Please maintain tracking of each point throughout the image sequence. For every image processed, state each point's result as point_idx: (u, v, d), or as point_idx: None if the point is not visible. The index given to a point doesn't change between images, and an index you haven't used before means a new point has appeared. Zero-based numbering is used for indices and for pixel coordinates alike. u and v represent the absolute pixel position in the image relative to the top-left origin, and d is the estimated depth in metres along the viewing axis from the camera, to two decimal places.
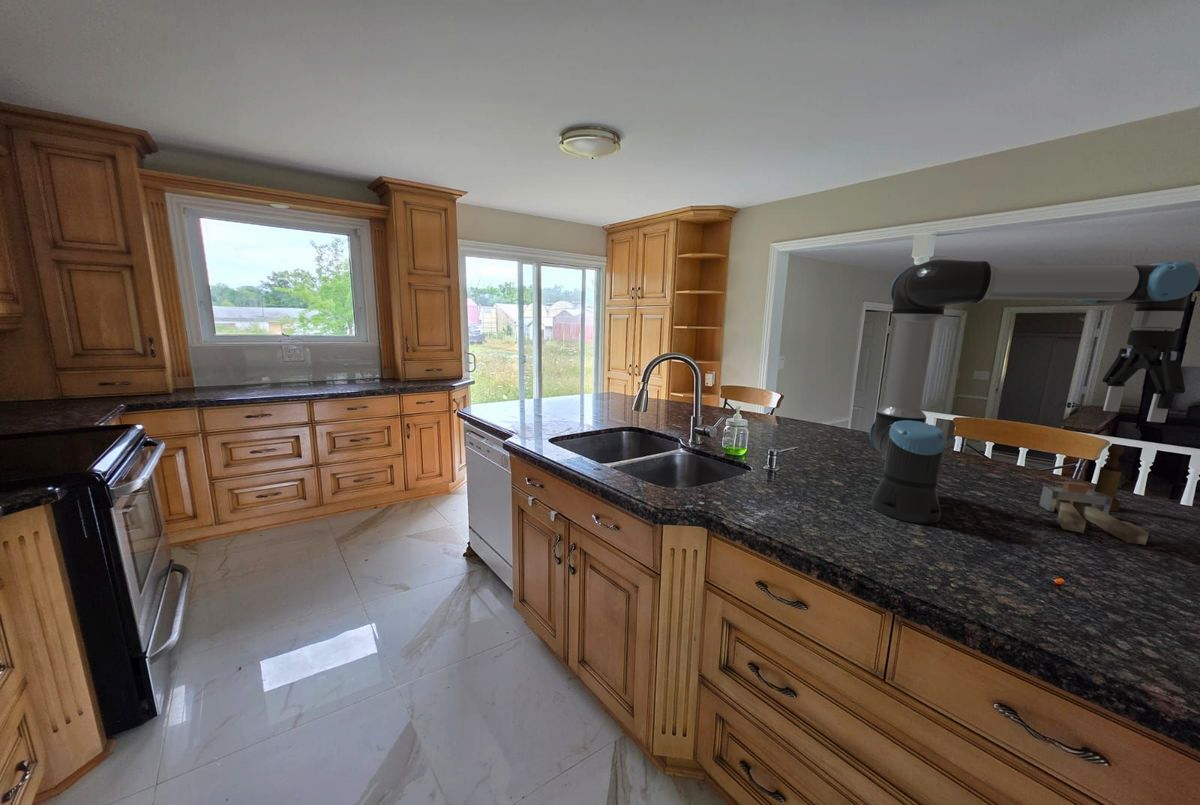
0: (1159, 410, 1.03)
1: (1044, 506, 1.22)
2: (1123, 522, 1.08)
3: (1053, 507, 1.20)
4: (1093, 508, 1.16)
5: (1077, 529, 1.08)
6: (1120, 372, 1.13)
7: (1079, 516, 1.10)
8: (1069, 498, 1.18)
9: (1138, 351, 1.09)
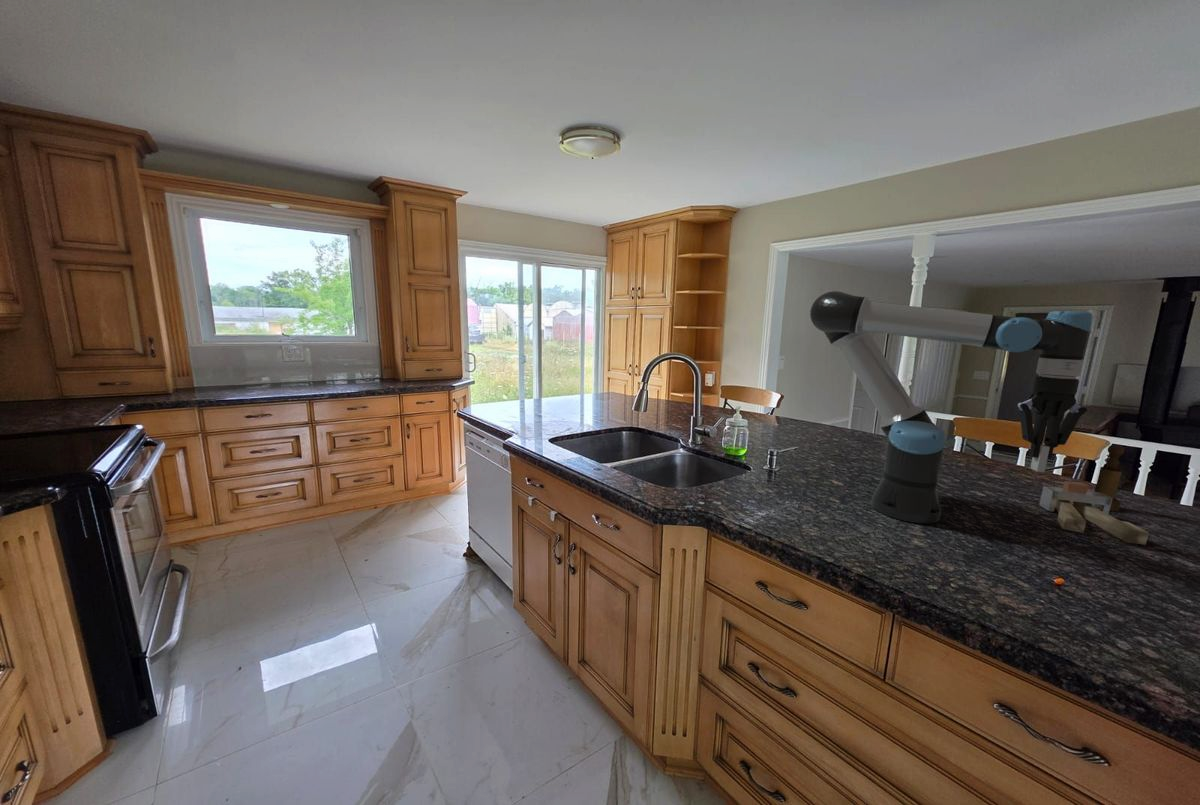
0: (1035, 459, 1.10)
1: (1044, 506, 1.22)
2: (1123, 522, 1.08)
3: (1053, 507, 1.20)
4: (1093, 508, 1.16)
5: (1077, 529, 1.08)
6: None
7: (1079, 516, 1.10)
8: (1069, 498, 1.18)
9: None
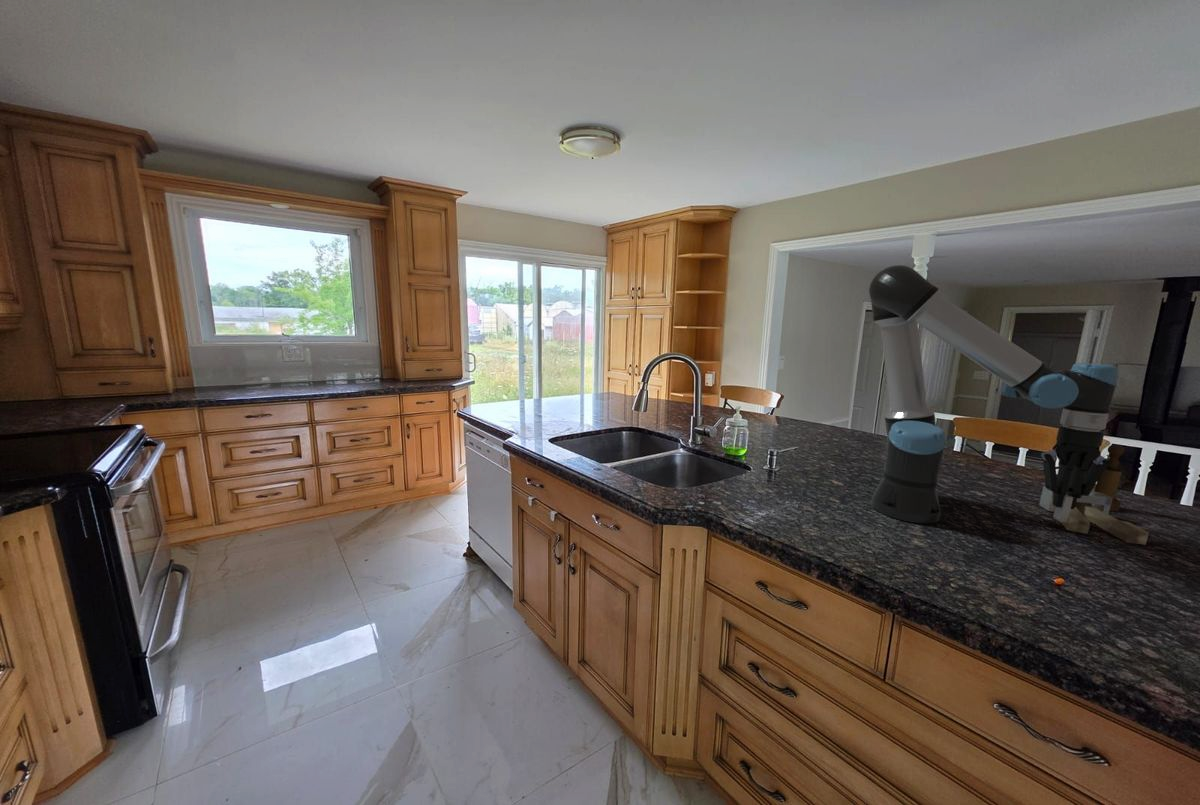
0: (1058, 508, 1.10)
1: (1044, 506, 1.22)
2: (1123, 522, 1.08)
3: (1053, 507, 1.20)
4: (1093, 508, 1.16)
5: (1081, 530, 1.07)
6: None
7: (1082, 517, 1.09)
8: None
9: None
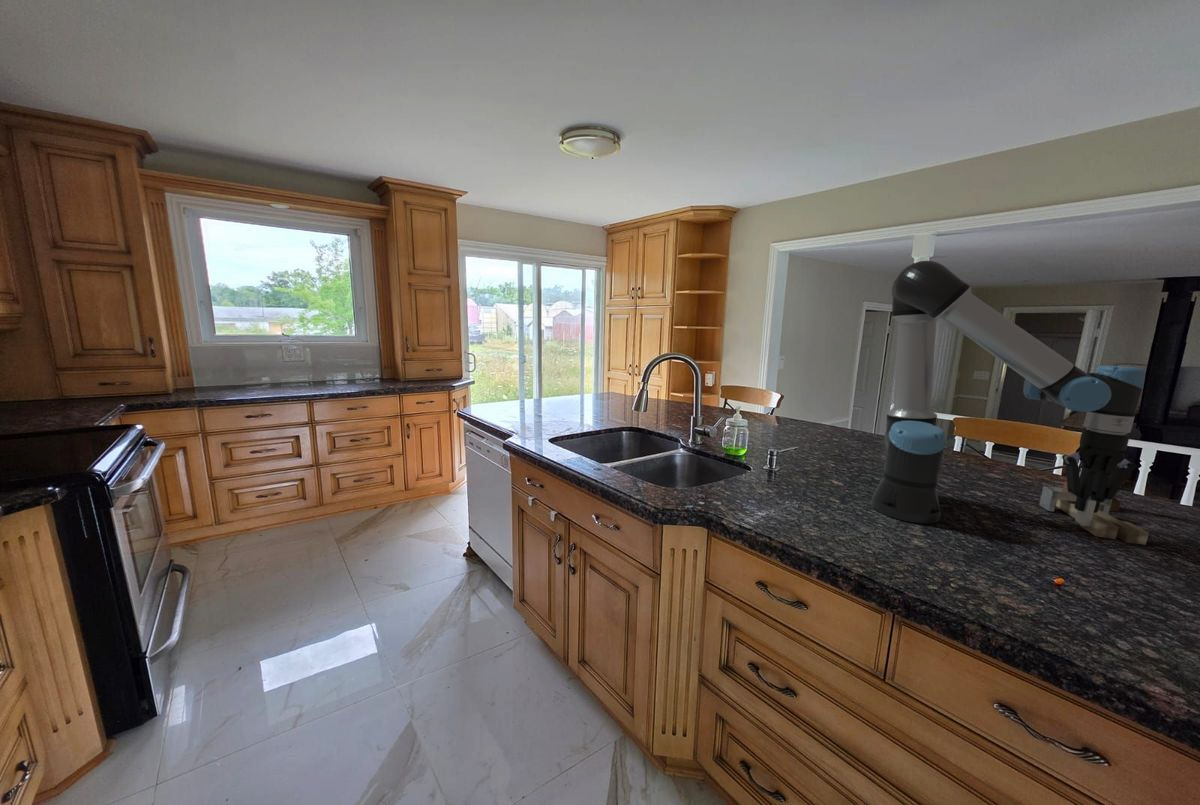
0: (1080, 512, 1.09)
1: (1044, 506, 1.22)
2: (1123, 522, 1.08)
3: (1053, 507, 1.20)
4: None
5: (1109, 535, 1.05)
6: None
7: (1106, 521, 1.07)
8: (1069, 498, 1.18)
9: None
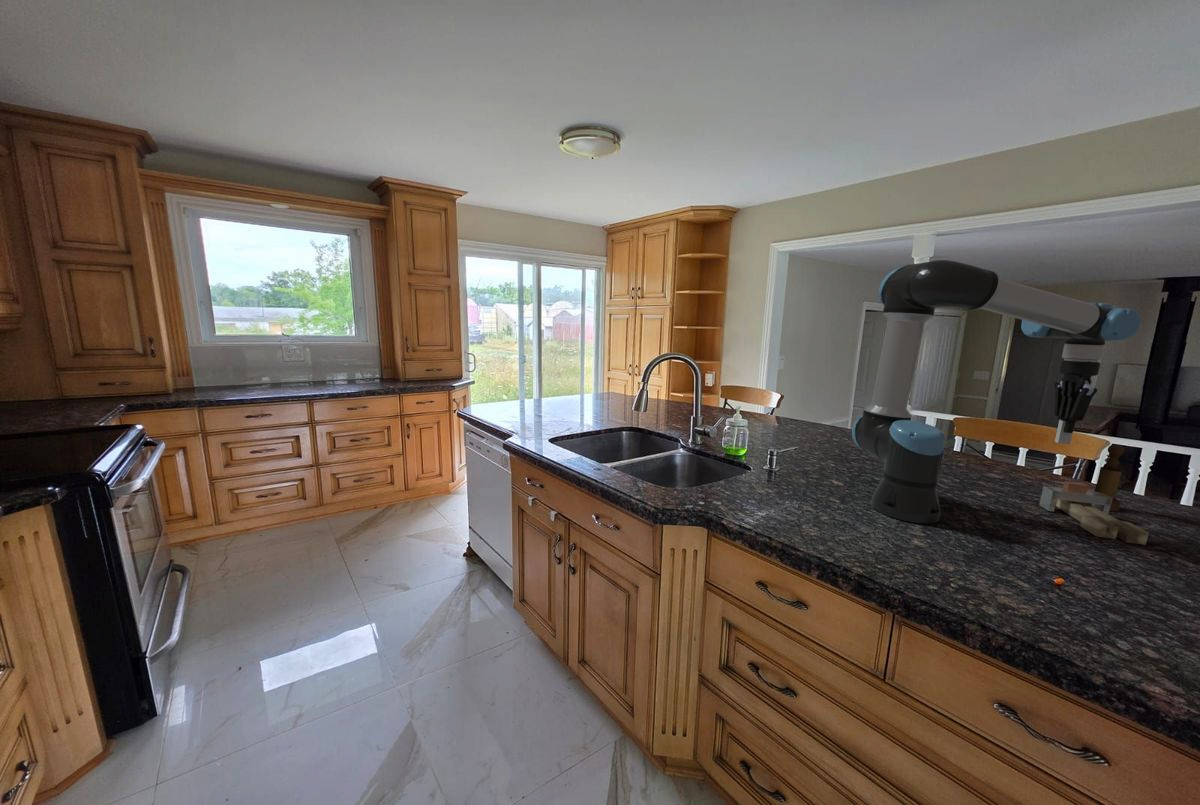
0: (1065, 434, 1.25)
1: (1044, 506, 1.22)
2: (1123, 522, 1.08)
3: (1053, 507, 1.20)
4: (1093, 508, 1.16)
5: (1109, 535, 1.05)
6: (1063, 402, 1.26)
7: (1106, 521, 1.07)
8: (1069, 498, 1.18)
9: (1067, 374, 1.25)
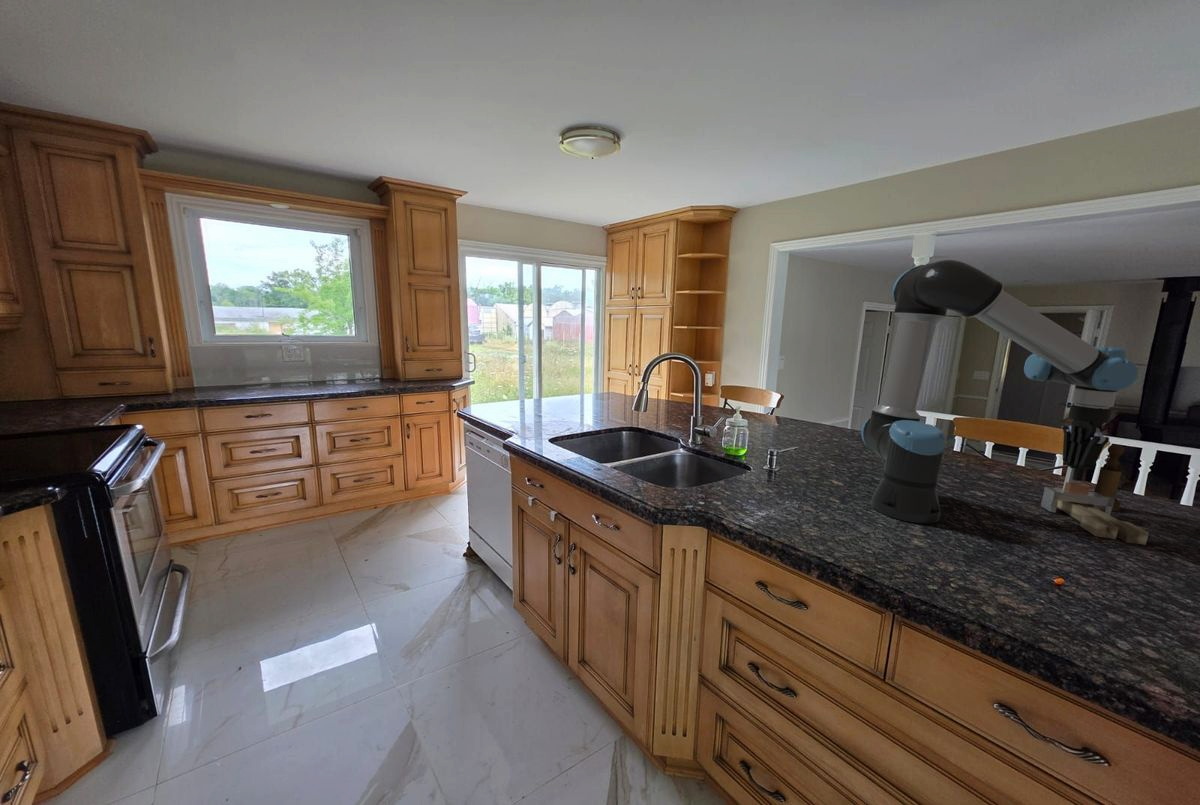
0: (1074, 481, 1.20)
1: (1046, 507, 1.21)
2: (1123, 522, 1.08)
3: (1055, 508, 1.19)
4: (1093, 508, 1.16)
5: (1109, 535, 1.05)
6: (1072, 448, 1.20)
7: (1106, 521, 1.07)
8: (1071, 499, 1.18)
9: (1077, 419, 1.20)
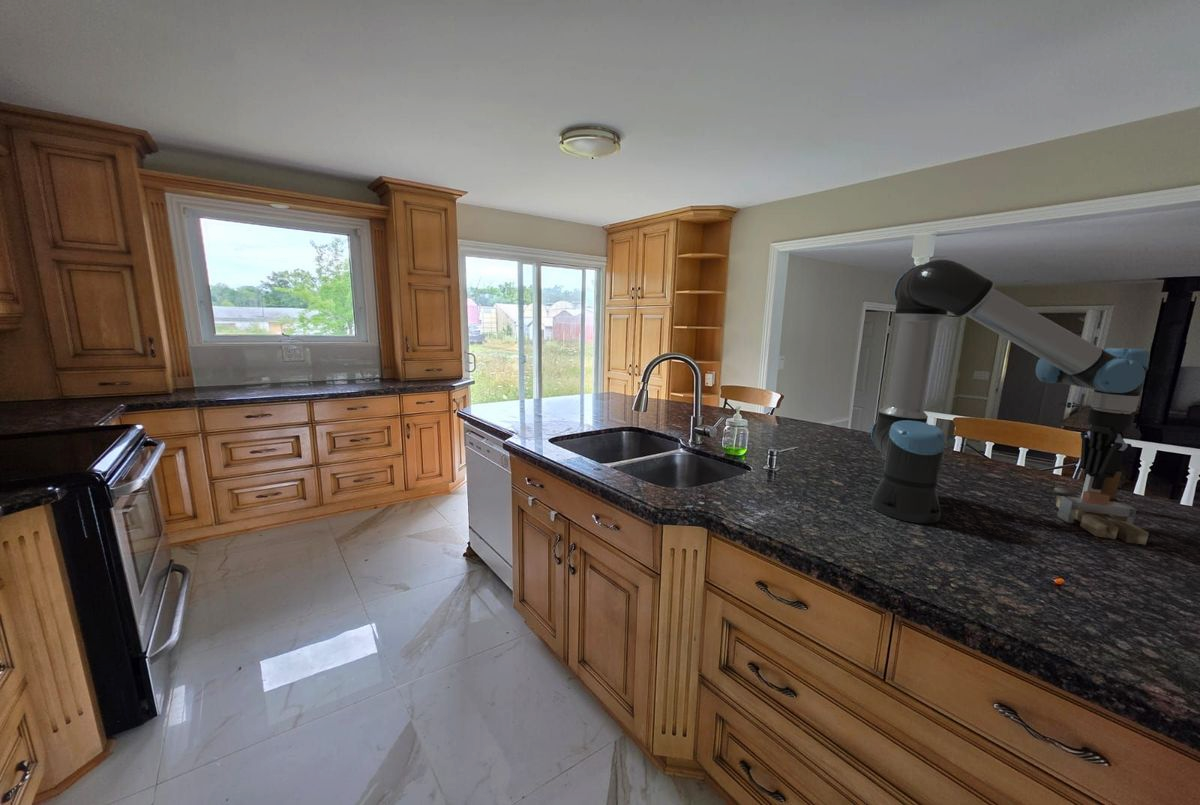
0: (1093, 490, 1.13)
1: (1062, 517, 1.15)
2: (1123, 522, 1.08)
3: (1072, 519, 1.12)
4: None
5: (1109, 535, 1.05)
6: (1090, 455, 1.14)
7: (1106, 521, 1.07)
8: (1090, 509, 1.11)
9: None
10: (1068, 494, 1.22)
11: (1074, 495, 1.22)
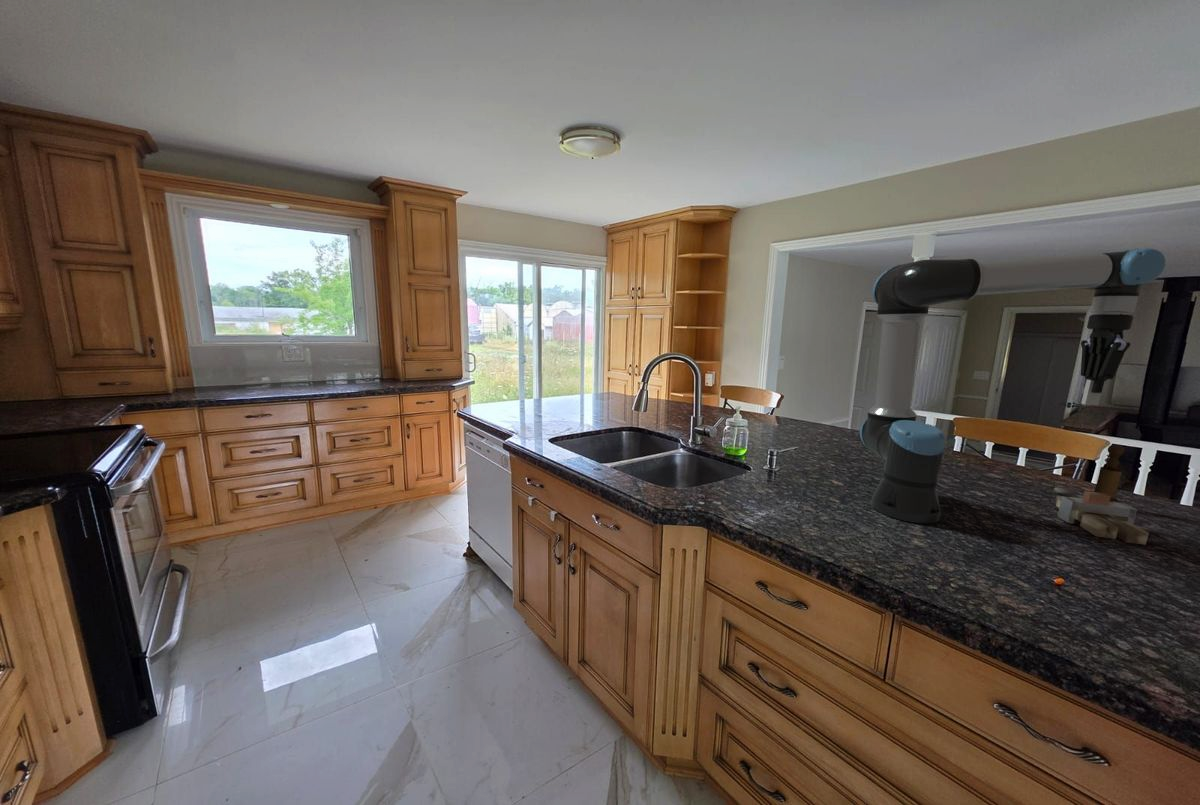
0: (1093, 394, 1.16)
1: (1063, 518, 1.14)
2: (1123, 522, 1.08)
3: (1073, 519, 1.12)
4: None
5: (1109, 535, 1.05)
6: (1090, 360, 1.17)
7: (1106, 521, 1.07)
8: (1090, 509, 1.11)
9: (1096, 330, 1.16)
10: (1068, 494, 1.22)
11: (1074, 495, 1.22)
